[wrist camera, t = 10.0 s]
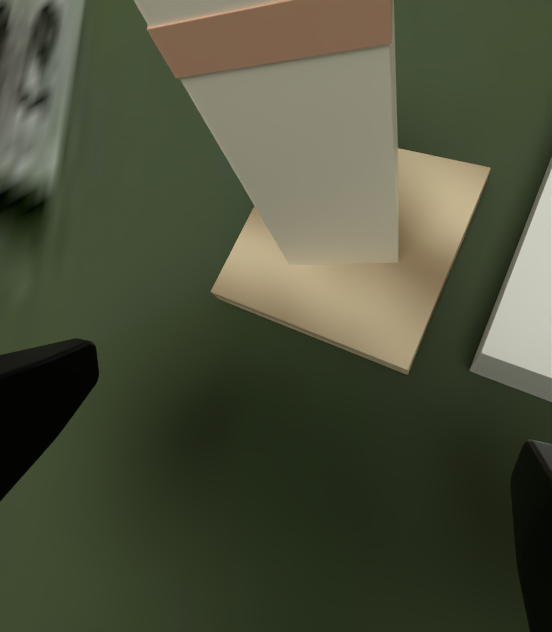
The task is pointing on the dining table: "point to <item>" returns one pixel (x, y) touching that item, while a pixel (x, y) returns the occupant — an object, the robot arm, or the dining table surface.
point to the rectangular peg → (298, 114)
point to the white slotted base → (524, 309)
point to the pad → (365, 269)
